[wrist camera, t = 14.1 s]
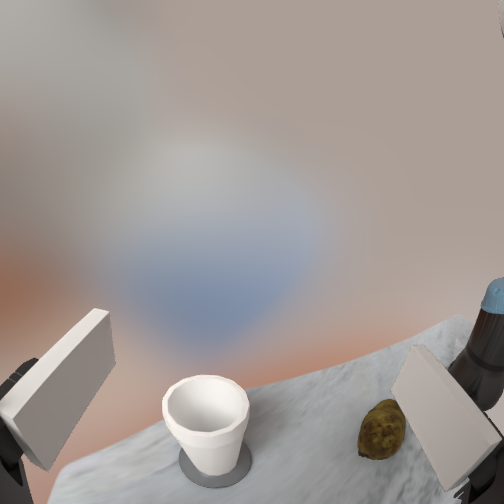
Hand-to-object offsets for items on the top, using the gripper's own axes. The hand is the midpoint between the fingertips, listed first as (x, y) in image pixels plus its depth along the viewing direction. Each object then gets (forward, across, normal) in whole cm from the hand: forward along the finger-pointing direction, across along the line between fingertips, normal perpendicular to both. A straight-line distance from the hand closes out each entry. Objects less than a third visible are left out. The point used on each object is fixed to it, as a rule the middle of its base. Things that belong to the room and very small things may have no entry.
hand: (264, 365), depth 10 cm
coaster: (+13, -2, -29) cm, 32 cm away
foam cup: (+13, -2, -29) cm, 32 cm away
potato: (+15, +22, -26) cm, 38 cm away
